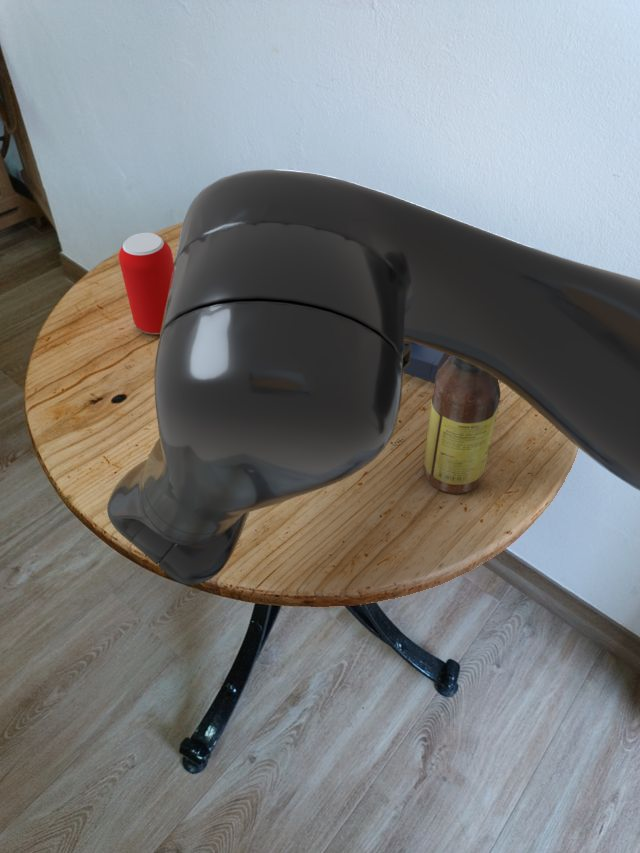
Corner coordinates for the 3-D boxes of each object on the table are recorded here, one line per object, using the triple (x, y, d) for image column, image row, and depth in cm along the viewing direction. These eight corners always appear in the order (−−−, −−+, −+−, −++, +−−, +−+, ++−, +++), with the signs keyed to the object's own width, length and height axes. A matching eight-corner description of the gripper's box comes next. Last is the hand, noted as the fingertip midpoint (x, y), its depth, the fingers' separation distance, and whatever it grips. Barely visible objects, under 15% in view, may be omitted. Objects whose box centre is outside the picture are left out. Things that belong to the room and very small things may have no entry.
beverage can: (131, 315, 90) (112, 233, 82) (178, 305, 92) (164, 224, 83) (139, 343, 86) (120, 261, 78) (188, 333, 88) (174, 251, 79)
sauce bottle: (494, 479, 72) (538, 329, 57) (448, 506, 69) (483, 356, 55) (451, 441, 75) (483, 290, 61) (407, 465, 73) (429, 314, 58)
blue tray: (472, 317, 90) (475, 300, 89) (434, 382, 82) (437, 365, 80) (380, 290, 95) (381, 273, 93) (334, 349, 86) (335, 332, 84)
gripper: (357, 394, 59) (436, 297, 68) (223, 339, 64) (314, 255, 73) (354, 452, 64) (428, 354, 74) (230, 397, 69) (314, 312, 79)
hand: (371, 305), depth 74 cm, fingers open, 8 cm apart
